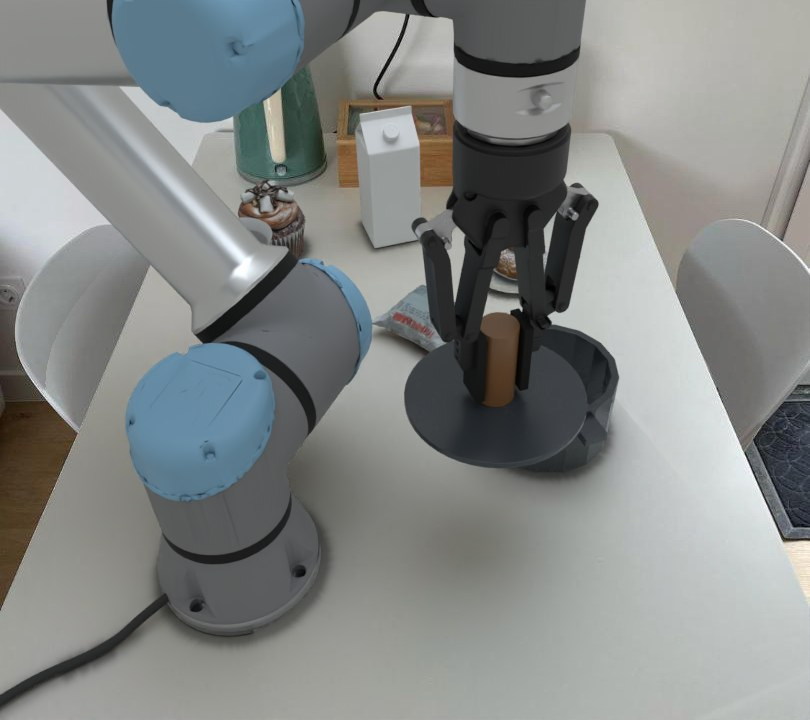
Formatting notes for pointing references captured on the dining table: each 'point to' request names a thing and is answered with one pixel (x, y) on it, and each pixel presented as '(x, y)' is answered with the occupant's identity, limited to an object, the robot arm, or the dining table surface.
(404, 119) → the milk carton
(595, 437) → the pot
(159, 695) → the dining table surface
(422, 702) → the dining table surface
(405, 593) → the dining table surface
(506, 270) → the pastry
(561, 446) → the lid
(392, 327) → the packaged food
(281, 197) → the cupcake
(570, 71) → the robot arm
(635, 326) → the dining table surface
